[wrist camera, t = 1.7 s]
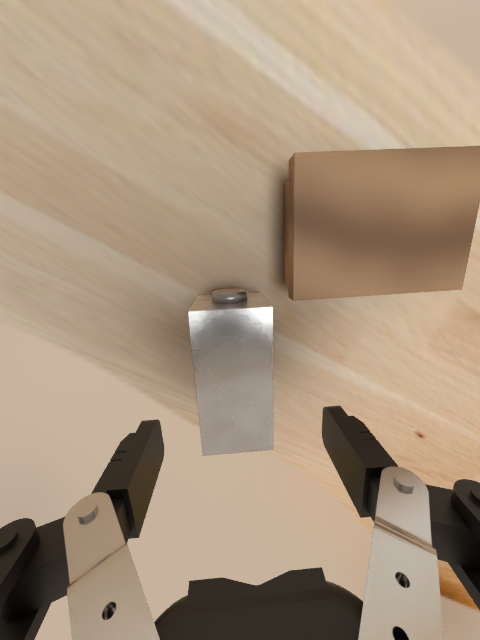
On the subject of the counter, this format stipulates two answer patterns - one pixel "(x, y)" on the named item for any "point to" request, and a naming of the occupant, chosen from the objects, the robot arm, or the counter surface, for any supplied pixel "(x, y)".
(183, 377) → the counter surface
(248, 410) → the block
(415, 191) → the stand
